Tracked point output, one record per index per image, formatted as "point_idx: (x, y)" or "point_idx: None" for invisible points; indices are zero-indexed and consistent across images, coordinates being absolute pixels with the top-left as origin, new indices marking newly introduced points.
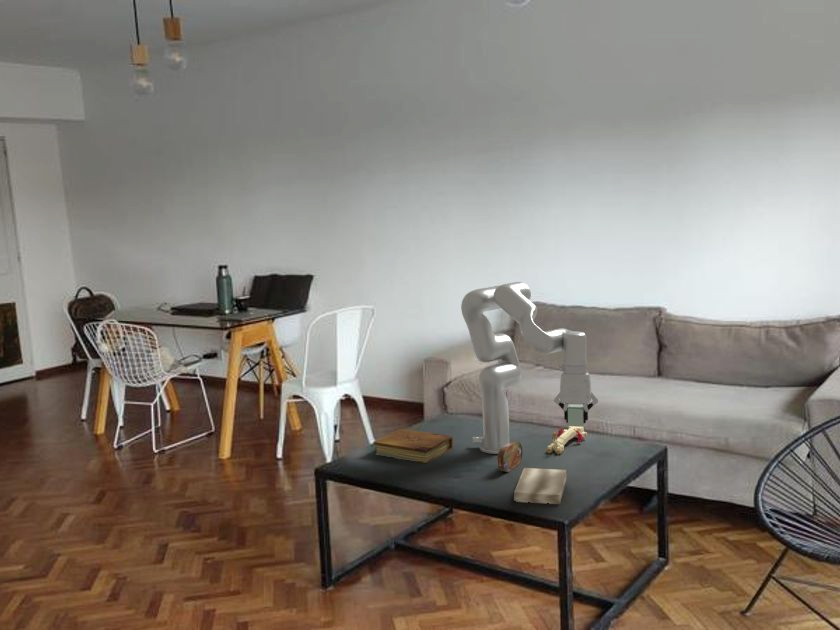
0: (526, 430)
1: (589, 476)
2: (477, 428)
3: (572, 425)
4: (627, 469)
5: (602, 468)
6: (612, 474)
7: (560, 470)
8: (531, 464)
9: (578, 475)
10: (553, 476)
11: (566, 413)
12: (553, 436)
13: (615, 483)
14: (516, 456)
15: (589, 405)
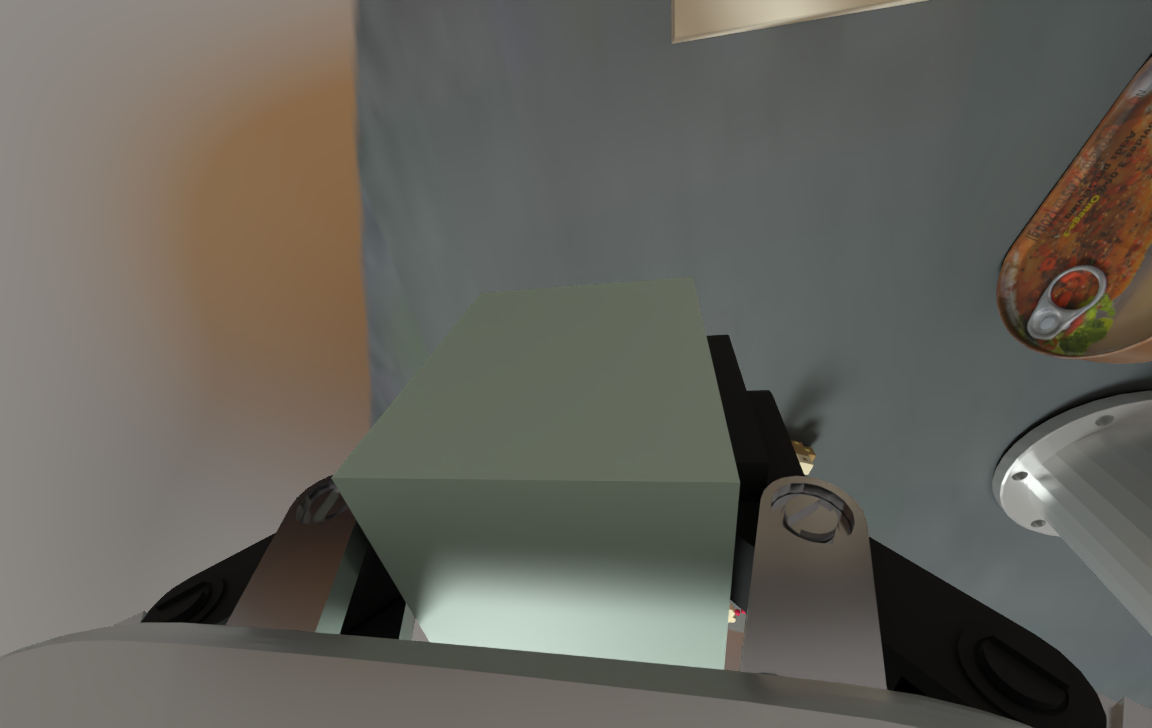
0: None
1: (535, 138)
2: (1130, 657)
3: (625, 285)
4: (389, 295)
5: (501, 285)
6: (427, 207)
7: (722, 5)
8: (915, 268)
9: (602, 138)
10: None
11: (751, 430)
12: None
13: (357, 47)
14: (1079, 255)
15: (223, 607)
